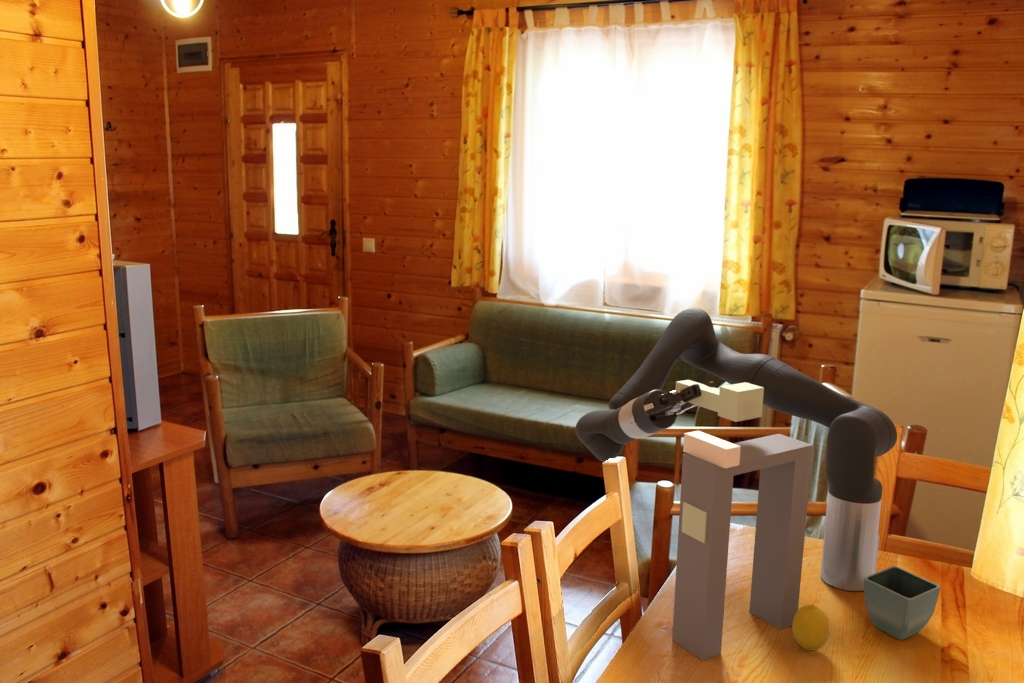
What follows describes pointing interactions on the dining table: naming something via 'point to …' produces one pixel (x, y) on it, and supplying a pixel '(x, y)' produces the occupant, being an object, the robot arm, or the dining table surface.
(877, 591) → the flower pot
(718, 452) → the cream bar
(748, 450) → the grey arch
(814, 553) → the dining table surface
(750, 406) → the pale yellow block
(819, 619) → the lemon
